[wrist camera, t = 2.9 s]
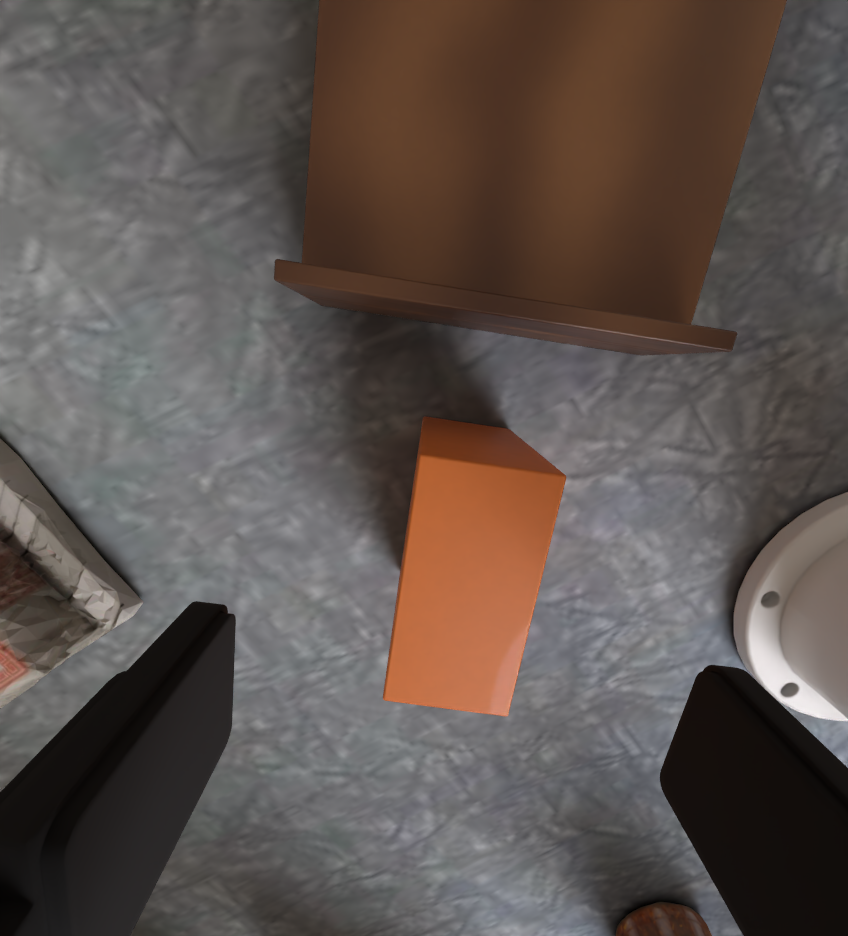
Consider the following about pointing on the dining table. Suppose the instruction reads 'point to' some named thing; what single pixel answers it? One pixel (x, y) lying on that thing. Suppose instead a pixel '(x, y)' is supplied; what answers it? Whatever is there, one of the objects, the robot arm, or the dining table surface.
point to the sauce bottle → (663, 921)
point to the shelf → (529, 163)
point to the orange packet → (470, 567)
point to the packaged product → (48, 583)
